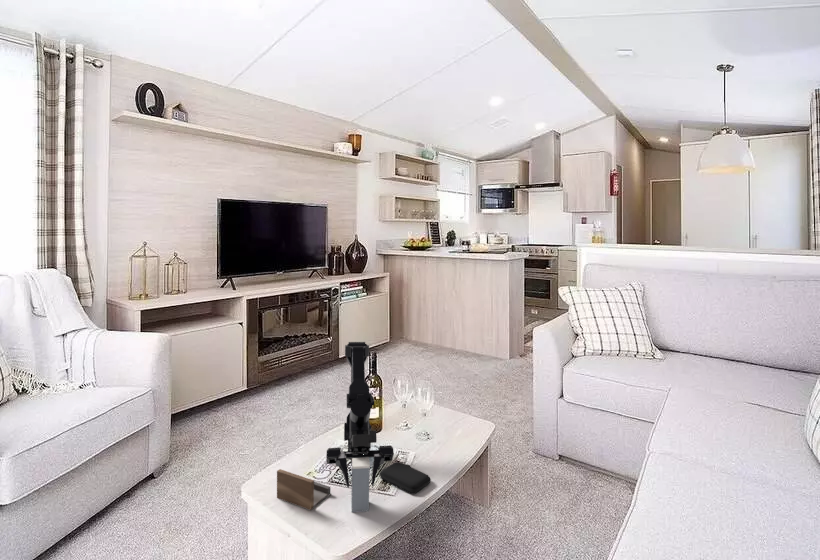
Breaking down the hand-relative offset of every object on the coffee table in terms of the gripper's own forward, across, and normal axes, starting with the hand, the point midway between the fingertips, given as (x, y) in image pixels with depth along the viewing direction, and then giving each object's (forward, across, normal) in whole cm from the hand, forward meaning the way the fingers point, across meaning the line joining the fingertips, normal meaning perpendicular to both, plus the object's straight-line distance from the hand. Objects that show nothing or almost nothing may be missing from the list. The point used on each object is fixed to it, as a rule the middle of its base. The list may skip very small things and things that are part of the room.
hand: (360, 486), depth 124 cm
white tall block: (+4, 0, +6) cm, 7 cm away
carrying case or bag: (-4, +15, +15) cm, 21 cm away
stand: (-1, -16, +10) cm, 19 cm away
